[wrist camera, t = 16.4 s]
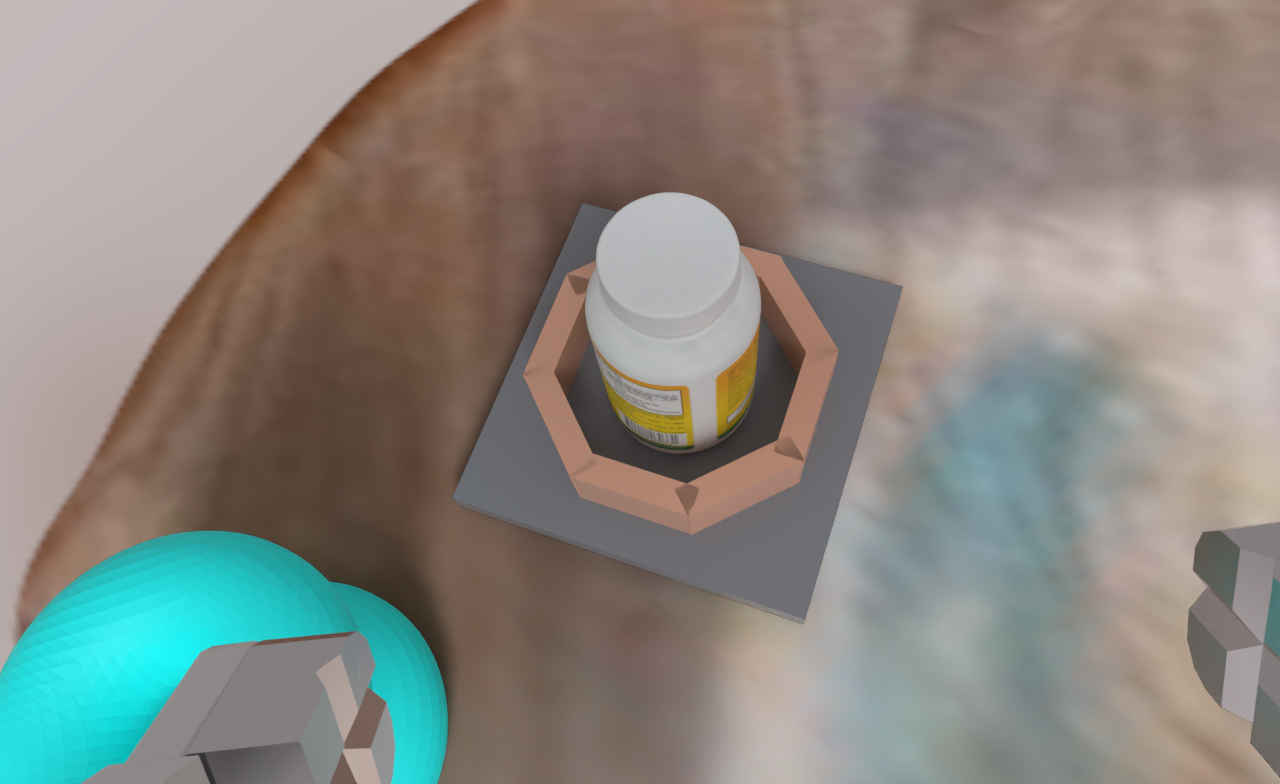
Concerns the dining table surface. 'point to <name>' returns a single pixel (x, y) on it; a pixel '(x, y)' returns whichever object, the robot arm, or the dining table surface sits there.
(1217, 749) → the dining table surface
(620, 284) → the supplement bottle
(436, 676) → the donuts
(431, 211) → the dining table surface
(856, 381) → the collar holder
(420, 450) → the dining table surface
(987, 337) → the dining table surface
